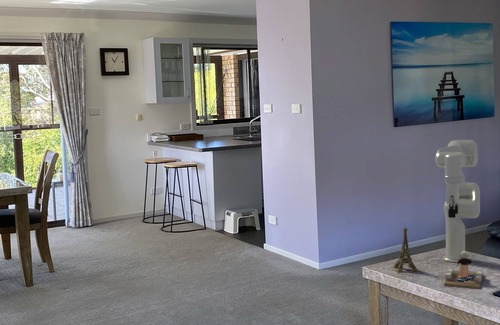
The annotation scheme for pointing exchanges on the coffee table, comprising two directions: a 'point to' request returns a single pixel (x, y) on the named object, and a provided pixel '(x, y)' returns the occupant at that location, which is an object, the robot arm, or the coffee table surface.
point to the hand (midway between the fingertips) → (453, 215)
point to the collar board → (471, 283)
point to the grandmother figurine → (464, 264)
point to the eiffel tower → (402, 258)
